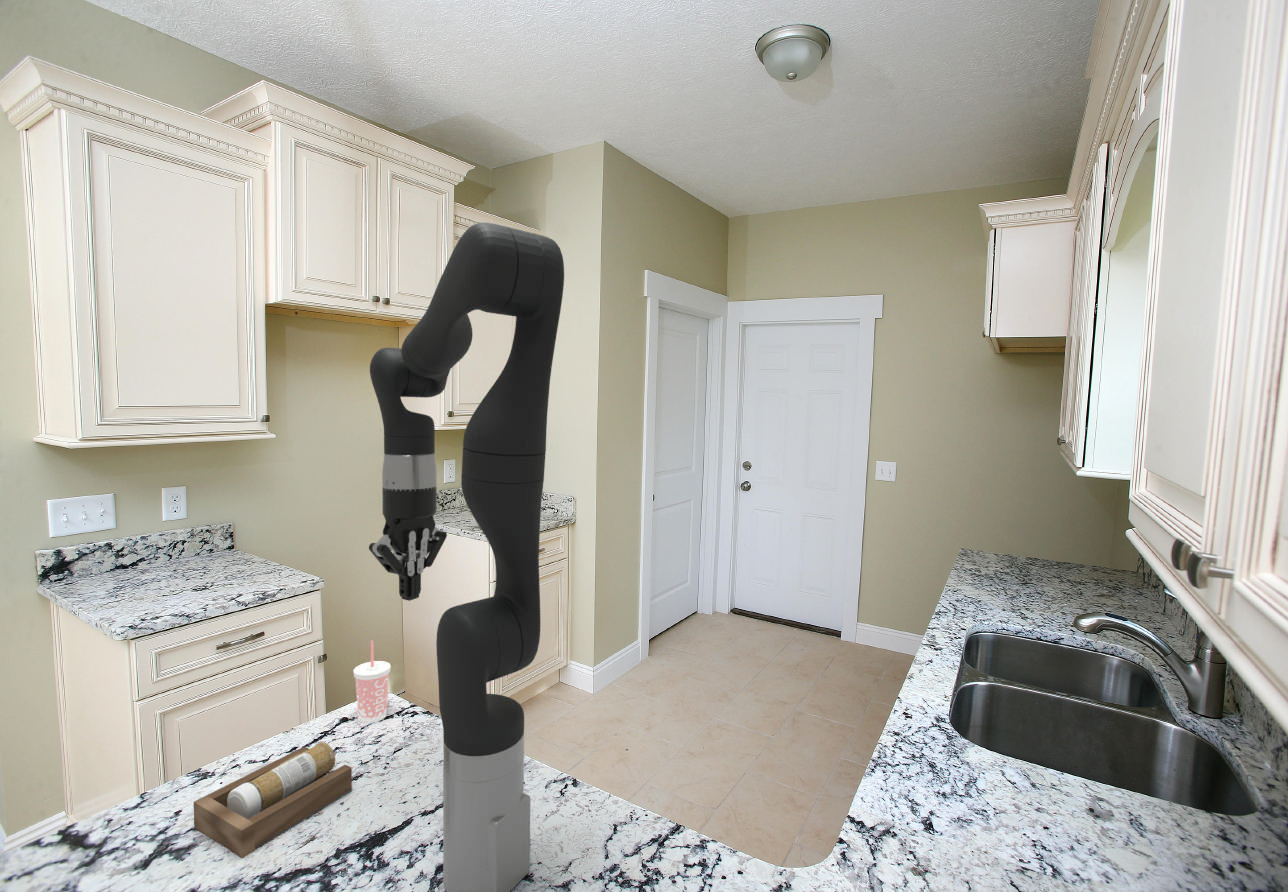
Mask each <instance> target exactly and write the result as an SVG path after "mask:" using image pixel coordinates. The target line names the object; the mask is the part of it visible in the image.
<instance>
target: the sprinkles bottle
mask: <svg viewBox="0 0 1288 892" xmlns="http://www.w3.org/2000/svg"><path fill="white" fill-rule="evenodd" d="M335 766H336V755H335V751H334V749H333V748H332V747H331V746H330V744H328V743H327V742H323V741H322V742H321V741H320V742H318V743H317V744H315V745H314V746H312V747H311V748H309V750H307V751H305V752H303V753H301V754H298V755H297V756H295V757H293V758H291V759H289V760H287V761H285V762H284V763H282V764H280V765H279V766H277V767H275V768H274V769H272V770H270V771H268V772H266V773H265V774H263V775H261V776H259V777H258V778H256V779H254V780H252V781H250V782H247V783H244V784H242V785H240V786H238V787H236V788H235V789H233V790H232V791H231V792H230V793H229V795H228V798H227V807H228V808H229V809H231V810H232V811H234V812H236V813H237V814H239V815H241V816H243V817H244V818H246V819H249V818H251V817H252V816H254V815H256V814H258V813H260V812H261V811H263V810H265V809H266V808H268V807H270V806H271V805H273V804H275V803H276V802H279V801H280V800H282V799H284V798H285V797H287V796H289V795H290V794H292V793H294V792H295V791H297V790H299V789H300V788H302V787H304V786H305V785H307V784H309V783H310V782H312V781H313V780H315V779H316V778H318V777H320V776H321V775H323V776H324V774H326V773H327V774H328V773H330V772H332V771H333V769H334V767H335Z"/></svg>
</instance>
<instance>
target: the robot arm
mask: <svg viewBox="0 0 1288 892" xmlns="http://www.w3.org/2000/svg"><path fill="white" fill-rule="evenodd" d="M452 250H453V251H452V252H451V254H450V257H449V259H448V261H447V264H446V266H445V268H444V270H443V273H442V275H441V276H440V278H439V280H438V284H437V285H436V288H435V291H434V293H433V296H432V298H431V301H430V303H429V305H428V307H427V309H426V311H425V312H424V314H423V316H422V317H421V318H420V320H418V322H417V323H416V324H415V326H414V327H413V328H412V329H411V330H410V332H409V333H408V334H407V336H406V337H405V338H404V340H403V342H402V345H401V348H399V347H398V348H396V347H383V348H380V349H378V350H377V351H376V352H374V354H373V356H372V358H371V361H370V364H369V376H370V380H371V384H372V387H373V389H374V393H375V396H376V399H377V402H378V406H379V410H380V414H381V418H382V425H383V454H384V455H383V463H382V470H381V471H382V473H381V474H382V483H381V485H382V487H381V488H382V489H381V490H382V515H383V516H384V517H383V518H384V520H385V524H384V526H383V529H382V537H380V539H379V540H377V542H376V543H375V542H371V543H370V544H369V546H368V550H369V551H370V553H371V554H372V555H373V556H374V557H375V559H376V560H377V561H378V562H379V563H380V565H381V566H382V567H383V568H384V570H385V571H386V572H387V573H389V574H394V575H397V576H398V586H399V587H398V589H399V590H398V593H399V597H401V599H402V600H404V601H409V602H410V601H412V600H416V599H419V597H420V594H421V590H422V573H423V572H424V569H426V568H431V567H432V566H433V564H434V562H435V560H436V559H437V556H438V554H439V552H440V550H441V548H442V547H443V544H444V543H445V541H446V539H447V536H448V534H447V532H446V531H442V530H440V529H439V528H438V527H436V521H435V518H434V515H436V513H437V512H438V511H437V507H438V506H437V495H438V494H437V463H436V458H435V457H436V456H435V450H436V449H435V437H436V436H435V433H436V432H435V431H436V430H435V429H436V428H435V421H434V419H433V418H432V416H430V415H427V414H425V413H419V412H415V411H411V410H409V409H407V408H406V406H405V404H404V403H403V401H402V398H434V397H436V396H438V395H440V394H441V393H443V392H444V390H445V389H446V386H447V381H448V377H449V375H450V371H451V369H452V368H453V367H454V366H455V365H456V364H458V363H459V362H460V361H461V360H462V359H463V358H464V356H465V355H466V354H467V353H468V351H469V350H470V347H471V345H472V340H473V326H472V323H471V319H470V317H469V315H468V314H469V313H471V312H473V311H477V310H478V311H482V312H485V313H489V314H496V315H502V316H510V317H515V326H514V327H515V328H514V335H513V339H512V344H511V348H510V349H511V350H510V352H509V356H508V358H507V360H506V363H505V366H504V368H503V369H502V371H501V373H500V374H499V376H498V377H497V379H496V380H495V381H494V383H493V385H492V386H491V387H490V388H489V390H488V391H487V393H486V394H485V396H484V397H483V398H482V400H481V401H480V403H479V404H478V406H477V407H476V409H475V410H474V412H473V414H472V415H471V417H470V419H469V421H468V423H467V425H466V427H465V430H464V433H463V440H462V441H463V443H462V458H461V460H462V461H461V474H460V475H461V480H460V481H461V483H460V484H461V491H462V496H463V498H464V501H465V503H466V505H467V507H468V510H469V511H470V513H471V515H472V517H473V518H474V520H475V522H476V523H477V525H478V526H479V528H480V529H481V531H482V533H483V534H484V536H485V537H486V539H487V542H488V543H489V546H490V548H491V550H492V553H493V557H494V561H495V589H494V594H493V596H490V597H486V598H482V599H477V600H473V601H470V602H466V603H462V604H458V605H455V606H452V607H449V608H448V609H446V610H445V611H444V612H443V613H442V615H441V617H440V619H439V621H438V626H437V628H436V661H437V663H436V666H437V676H438V677H437V678H438V679H437V680H438V682H437V683H438V701H439V702H438V703H439V712H440V718H441V723H442V729H443V730H442V731H443V732H442V733H443V739H442V740H443V766H442V767H443V770H442V771H443V772H442V773H443V781H442V782H443V783H442V785H443V787H442V789H443V790H442V792H443V795H442V796H443V797H442V804H443V807H442V810H443V812H442V813H443V814H442V815H443V816H442V817H443V818H442V819H443V824H442V846H443V847H442V851H443V855H442V856H443V857H442V858H443V859H442V860H443V861H442V863H443V864H442V866H443V868H442V869H443V871H442V872H443V873H442V875H443V876H442V877H443V878H442V881H443V887H444V890H445V891H446V892H511V891H512V890H513V889H514V888H515V887H516V886H517V885H518V884H519V883H520V882H521V881H522V880H523V878H525V876H527V875H528V873H529V872H530V871H531V866H530V864H531V861H530V860H531V797H530V795H529V794H527V793H524V786H525V785H524V781H525V780H524V779H525V778H524V775H525V774H524V773H525V772H524V771H525V769H524V768H525V767H524V766H525V764H524V761H525V759H524V757H525V713H524V711H525V710H524V708H523V706H522V705H521V704H520V703H519V702H518V701H517V700H515V699H513V698H511V697H508V696H506V695H503V694H497V693H487V692H488V691H487V683H489V682H492V681H494V680H498V679H500V678H503V677H506V676H509V675H512V674H514V673H517V672H519V671H522V670H523V669H526V667H528V666H529V665H531V664H532V662H533V661H534V660H535V658H536V656H537V653H538V649H539V646H540V641H541V640H540V639H541V638H540V637H541V593H540V592H541V591H540V589H541V588H540V586H541V585H540V558H539V557H540V537H541V536H540V534H541V533H540V529H541V515H542V514H541V512H542V511H541V510H542V499H543V491H544V490H543V489H544V482H545V468H546V465H545V464H546V454H547V453H546V452H547V424H548V410H549V409H548V408H549V397H550V385H551V383H550V382H551V375H552V369H553V368H552V367H553V360H554V356H555V355H554V354H555V347H556V340H557V334H558V328H559V322H560V315H561V311H562V303H563V295H564V287H565V286H564V285H565V265H564V264H565V263H564V262H565V261H564V256H563V253H562V251H561V247H560V246H559V245H558V243H557V242H556V241H555V240H554V239H552V238H550V237H548V236H545V235H542V234H537V233H535V232H534V233H533V232H530V231H525V230H522V229H518V228H514V227H509V226H505V225H501V224H497V223H491V222H478V223H475V224H472V225H471V226H470V227H467V229H466V230H465V232H463V234H462V235H461V236H460V238H459V240H458V241H457V242H456V245H455V247H454V248H453V249H452ZM401 397H402V398H401Z"/></svg>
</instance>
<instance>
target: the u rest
mask: <svg viewBox="0 0 1288 892" xmlns="http://www.w3.org/2000/svg"><path fill="white" fill-rule="evenodd" d="M309 749H310V748H308V747H307V746H303V747H302V746H301V748H298V749H296V750H294V751H292V752H290V753H288V754H287V755H284V756H282V757H281V758H278V759H276V760H275V761H272V762H271V763H269V764H266V765H265V766H262V767H260V768H258V769H257V770H255V771H253V772H250V773H248V774H246V775H245V776H242V777H240V778H238V779H237V780H235V781H232V782H231V783H228V784H226V785H225V786H222V787H220V788H218V789H217V790H214V791H213V792H210V793H208V794H206V795H205V796H202V797H200V798H198V799H197V800H194V801H193V827H194V828H195V830H197V831H199V832H201V833H202V834H204V835H205V836H207V837H208V838H210V839H212V840H213V841H214V842H216V843H218V844H219V845H221V846H223V847H224V848H226V849H227V850H229V851H231V852H232V853H234V854H235V855H237V856H238V857H239V858H242V859H243V858H244V857H246V856H248V855H250V854H251V853H253V852H255V850H258V849H260V848H261V847H263V846H264V845H266V844H267V843H270V842H271V841H272V840H274V839H276V838H277V837H279V836H280V835H282V834H284V833H285V832H287V831H290V830H291V828H293V827H295V826H297V825H299V824H300V823H301V822H303V821H305V820H306V819H308V818H310V817H311V816H313V815H315V814H316V813H318V812H319V811H322V810H323V809H325V808H326V807H328V806H330V805H332V804H333V803H335V802H336V801H338V800H340V799H341V798H343V797H345V796H346V795H348V794H349V793H351V792H352V790H353V789H352V787H353V776H352V775H353V774H352V773H353V771H352V770H353V769H352V767H351V766H349V765H347V764H343V765H341V766H339V767H337V768H336V769H335V770H331V771H330V772H328V773H327V774H326V775H324V774H323V775H321V776H320V777H318V778H316V779H315V780H313V781H312V782H310V783H309V784H307V785H305V786H304V787H302V788H300V789H299V790H297V791H295V792H294V793H292V794H290V795H289V796H287V797H285V798H284V799H282V800H280V801H279V802H276V803H275V804H273V805H271V806H270V807H268V808H266V809H265V810H263V811H261V812H260V813H258V814H256V815H254V816H252V817H251V818H249V819H246V818H244V817H243V816H241V815H239V814H237V813H236V812H234V811H232V810H231V809H229V808H228V807H227V798H228V795H229V793H230V792H231V791H232V790H233V789H235V788H236V787H238V786H240V785H242V784H244V783H247V782H250V781H252V780H254V779H256V778H258V777H259V776H261V775H263V774H265V773H266V772H268V771H270V770H272V769H274V768H275V767H277V766H279V765H280V764H282V763H284V762H285V761H287V760H289V759H291V758H293V757H295V756H297V755H298V754H301V753H303V752H305V751H307V750H309ZM342 796H343V797H342Z"/></svg>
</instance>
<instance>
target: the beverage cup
mask: <svg viewBox="0 0 1288 892" xmlns="http://www.w3.org/2000/svg"><path fill="white" fill-rule="evenodd" d="M374 646H375V645H374V639H371V640H370V661H367V662H364V663H361V664H359V665H357V666H356V667H354V669H353V678H354V679H355V692H356V705H357V714H358V721H359V722H360V723H363V724H373V723H377V722H380V721H382V720H384V719H385V718H386V717H387V711H388V698H389V697H388V696H389V695H388V694H389V679H390V677H389V676H390V672H391V671H392V670H391V668H392V666H391V663H389V662H387V661H383V660H375V659H374V658H375V657H374V655H375V654H374V648H375V647H374Z"/></svg>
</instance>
